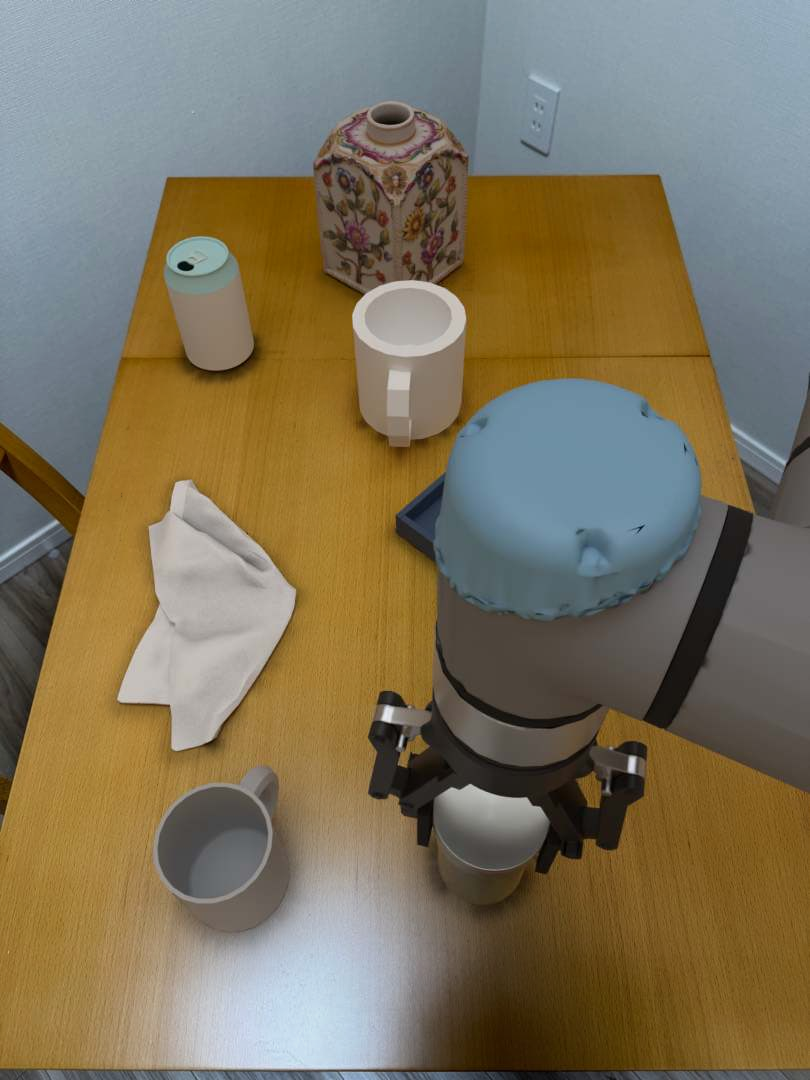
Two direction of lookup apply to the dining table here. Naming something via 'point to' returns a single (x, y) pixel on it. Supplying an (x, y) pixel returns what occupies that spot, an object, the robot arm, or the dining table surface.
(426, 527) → the tray
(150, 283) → the dining table surface
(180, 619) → the cloth
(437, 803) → the lid
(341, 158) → the decorative jar
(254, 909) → the cup
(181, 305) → the can
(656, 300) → the dining table surface
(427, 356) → the mug
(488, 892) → the jar
